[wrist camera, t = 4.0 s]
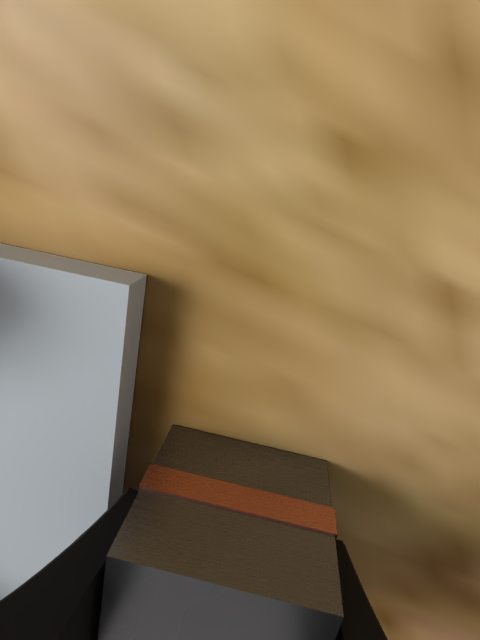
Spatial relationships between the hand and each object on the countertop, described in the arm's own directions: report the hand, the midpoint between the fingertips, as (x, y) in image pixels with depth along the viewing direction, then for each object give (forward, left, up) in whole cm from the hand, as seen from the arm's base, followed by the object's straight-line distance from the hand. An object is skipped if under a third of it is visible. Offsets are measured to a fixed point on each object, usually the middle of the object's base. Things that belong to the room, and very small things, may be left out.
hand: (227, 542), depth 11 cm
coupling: (0, 0, -1) cm, 1 cm away
